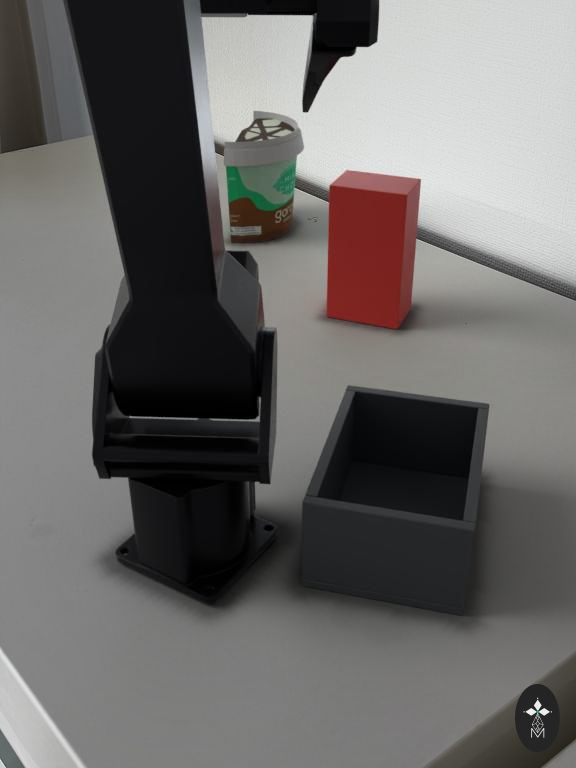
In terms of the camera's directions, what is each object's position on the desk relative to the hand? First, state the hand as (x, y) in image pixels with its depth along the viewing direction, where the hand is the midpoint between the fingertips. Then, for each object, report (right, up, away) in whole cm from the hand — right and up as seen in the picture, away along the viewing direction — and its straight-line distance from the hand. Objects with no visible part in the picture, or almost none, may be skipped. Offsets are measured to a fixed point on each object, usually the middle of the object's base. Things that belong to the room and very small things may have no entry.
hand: (242, 107), depth 63 cm
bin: (+9, -28, -15) cm, 33 cm away
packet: (+10, -14, +8) cm, 19 cm away
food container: (+2, -5, +24) cm, 25 cm away
